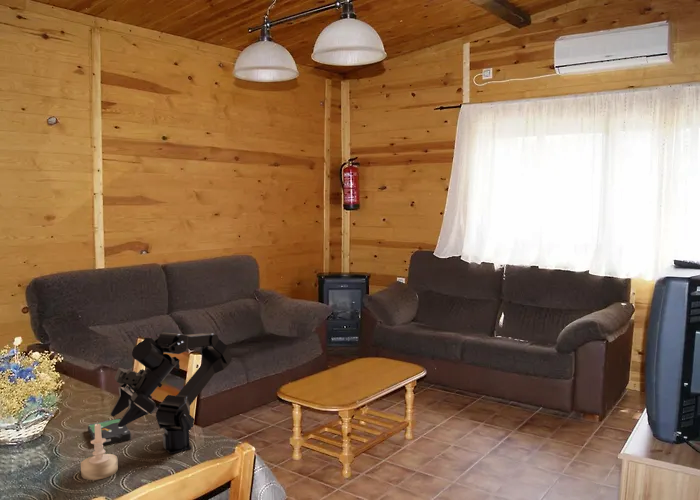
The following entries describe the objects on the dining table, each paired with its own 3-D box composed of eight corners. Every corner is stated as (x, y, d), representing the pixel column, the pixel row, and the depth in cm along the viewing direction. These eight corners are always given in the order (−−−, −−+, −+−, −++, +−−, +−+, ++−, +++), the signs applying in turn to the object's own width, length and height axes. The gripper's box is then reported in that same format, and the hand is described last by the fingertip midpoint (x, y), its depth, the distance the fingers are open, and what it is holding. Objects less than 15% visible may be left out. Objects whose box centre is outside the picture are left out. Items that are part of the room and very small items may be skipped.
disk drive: (132, 441, 184) (121, 425, 196) (131, 432, 184) (121, 417, 196) (95, 449, 178) (87, 432, 191) (95, 440, 178) (86, 423, 191)
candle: (112, 455, 165) (110, 418, 164) (105, 464, 160) (103, 426, 159) (93, 456, 165) (91, 419, 164) (85, 465, 160) (83, 426, 159)
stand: (113, 461, 169) (112, 451, 168) (121, 473, 161) (121, 462, 161) (78, 470, 164) (77, 459, 163) (85, 483, 156) (84, 471, 156)
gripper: (125, 349, 173) (85, 394, 168) (141, 365, 158) (98, 415, 153) (154, 372, 178) (116, 416, 173) (172, 388, 162) (132, 438, 158)
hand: (115, 420), depth 164 cm, fingers open, 9 cm apart
